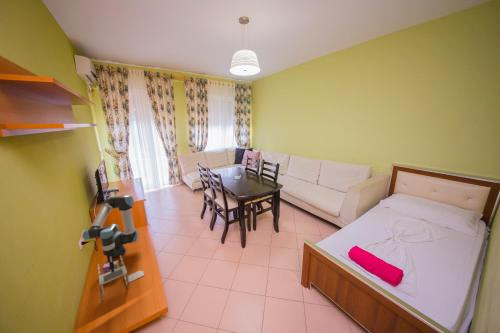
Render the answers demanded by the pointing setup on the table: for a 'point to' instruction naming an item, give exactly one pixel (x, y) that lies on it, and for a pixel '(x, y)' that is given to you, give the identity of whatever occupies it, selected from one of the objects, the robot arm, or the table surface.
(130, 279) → the mat
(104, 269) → the box
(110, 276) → the cover
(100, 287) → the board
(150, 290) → the table surface
